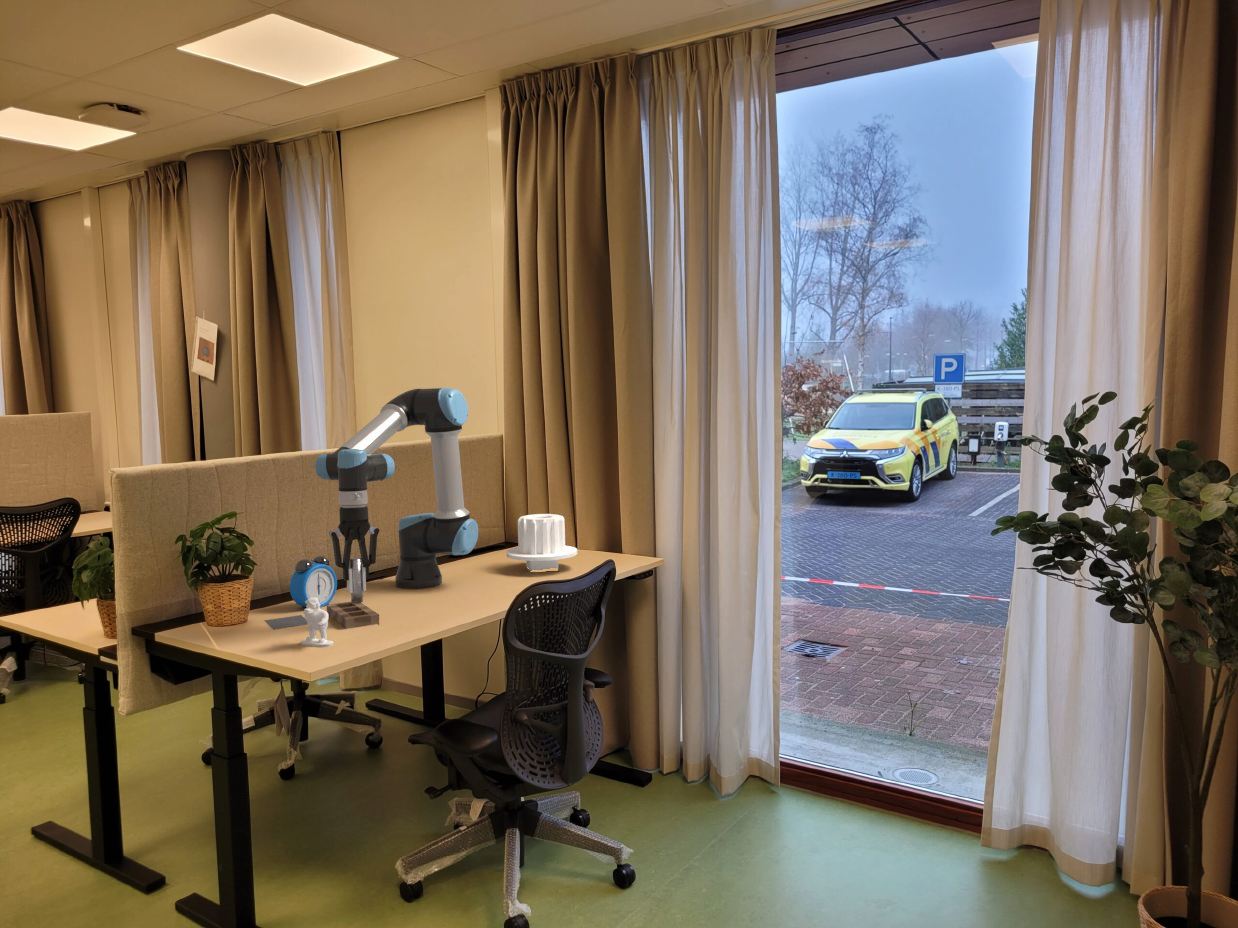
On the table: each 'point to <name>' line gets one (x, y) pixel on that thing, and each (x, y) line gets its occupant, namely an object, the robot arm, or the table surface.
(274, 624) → the mat
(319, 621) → the figurine
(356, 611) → the hole block
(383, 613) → the table surface
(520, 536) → the flanged gear
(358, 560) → the pin
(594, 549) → the table surface
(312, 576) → the alarm clock
